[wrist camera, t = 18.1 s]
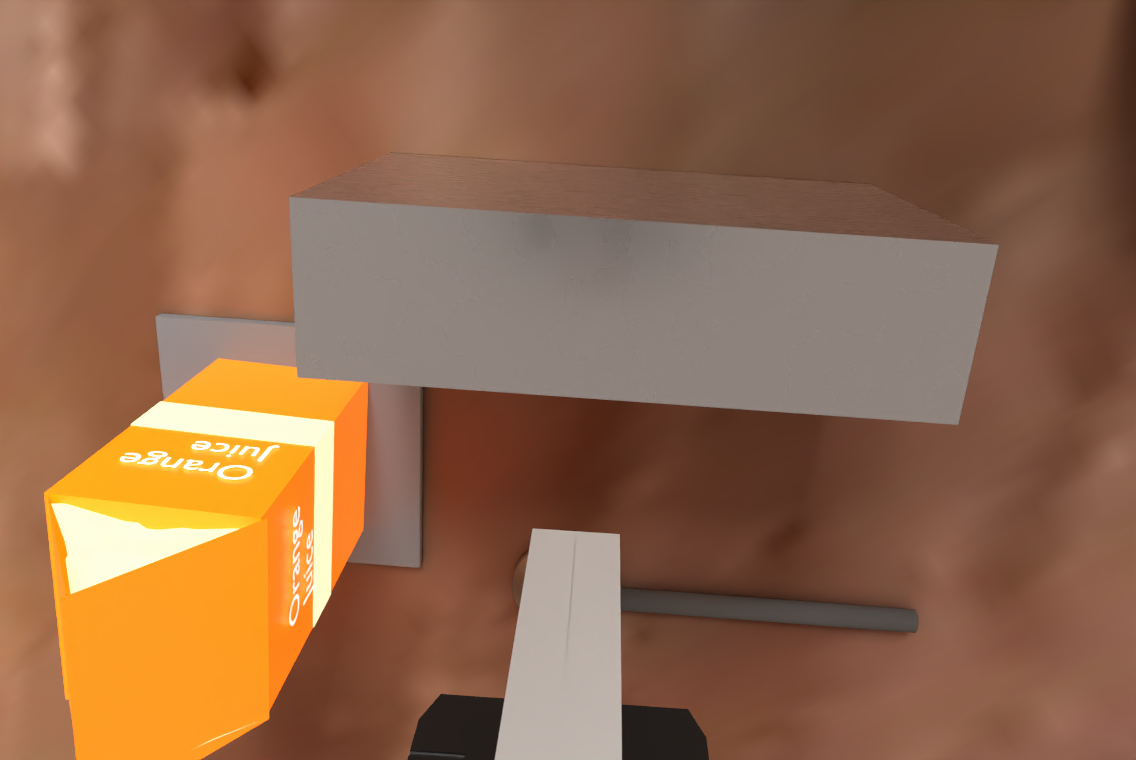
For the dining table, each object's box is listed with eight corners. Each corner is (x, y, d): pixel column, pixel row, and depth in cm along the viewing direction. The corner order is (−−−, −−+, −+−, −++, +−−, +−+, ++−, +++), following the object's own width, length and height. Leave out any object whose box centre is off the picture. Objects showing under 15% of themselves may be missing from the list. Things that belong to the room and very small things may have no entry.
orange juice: (219, 514, 47) (-38, 816, 28) (215, 356, 44) (-76, 577, 25) (367, 531, 47) (207, 845, 28) (372, 374, 44) (198, 609, 25)
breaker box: (391, 152, 41) (288, 196, 28) (872, 184, 41) (999, 244, 27) (392, 296, 43) (298, 399, 30) (847, 327, 43) (953, 446, 30)
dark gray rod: (615, 582, 48) (615, 595, 47) (912, 604, 48) (919, 618, 47) (613, 601, 49) (613, 614, 48) (908, 623, 48) (915, 637, 47)
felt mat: (161, 313, 44) (155, 316, 44) (422, 331, 44) (420, 335, 43) (183, 543, 49) (178, 549, 48) (421, 561, 48) (419, 567, 48)
